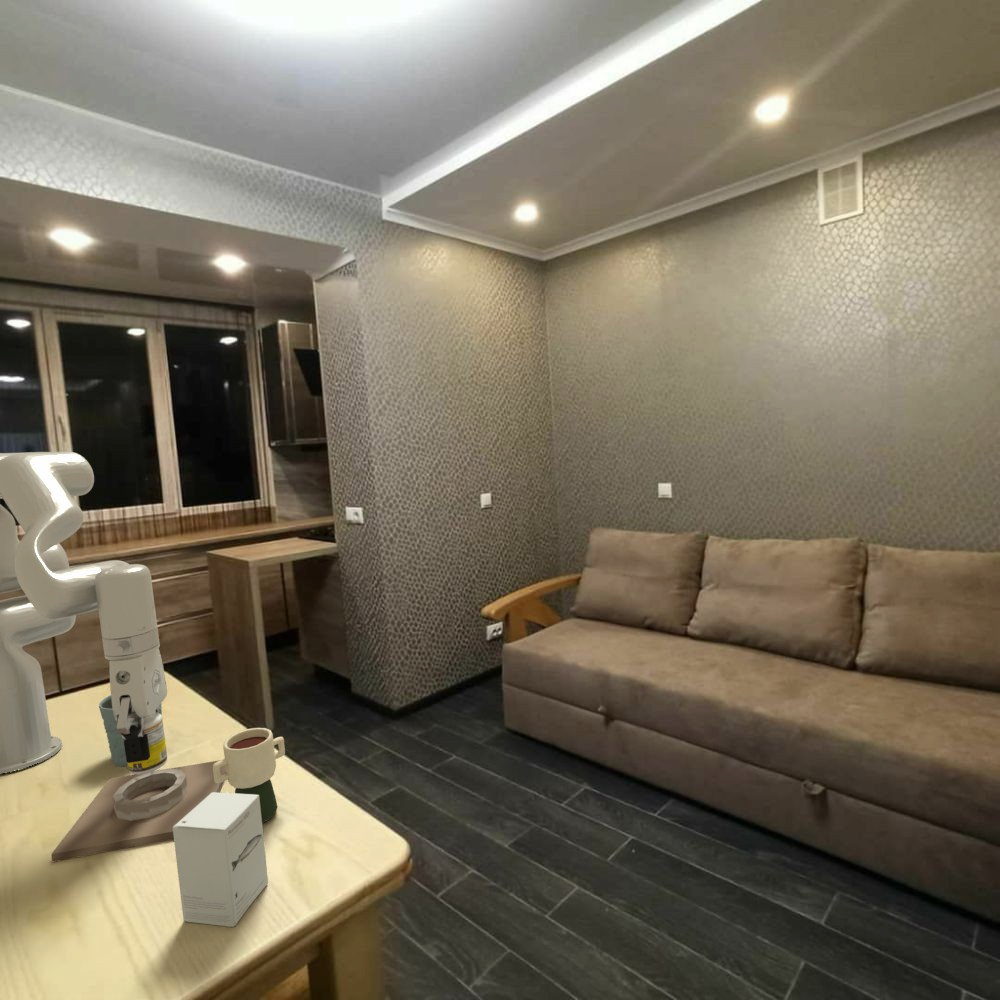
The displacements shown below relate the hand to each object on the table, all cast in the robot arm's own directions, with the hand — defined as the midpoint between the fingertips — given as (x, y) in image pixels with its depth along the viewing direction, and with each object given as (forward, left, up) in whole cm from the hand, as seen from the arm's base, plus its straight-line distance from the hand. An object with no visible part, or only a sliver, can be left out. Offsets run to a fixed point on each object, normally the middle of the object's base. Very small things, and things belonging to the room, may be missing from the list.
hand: (145, 749), depth 95 cm
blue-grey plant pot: (-9, +20, -10) cm, 24 cm away
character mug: (+17, -8, -10) cm, 22 cm away
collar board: (0, 0, -10) cm, 10 cm away
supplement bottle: (0, 0, -3) cm, 3 cm away
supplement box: (+17, -26, -10) cm, 33 cm away
